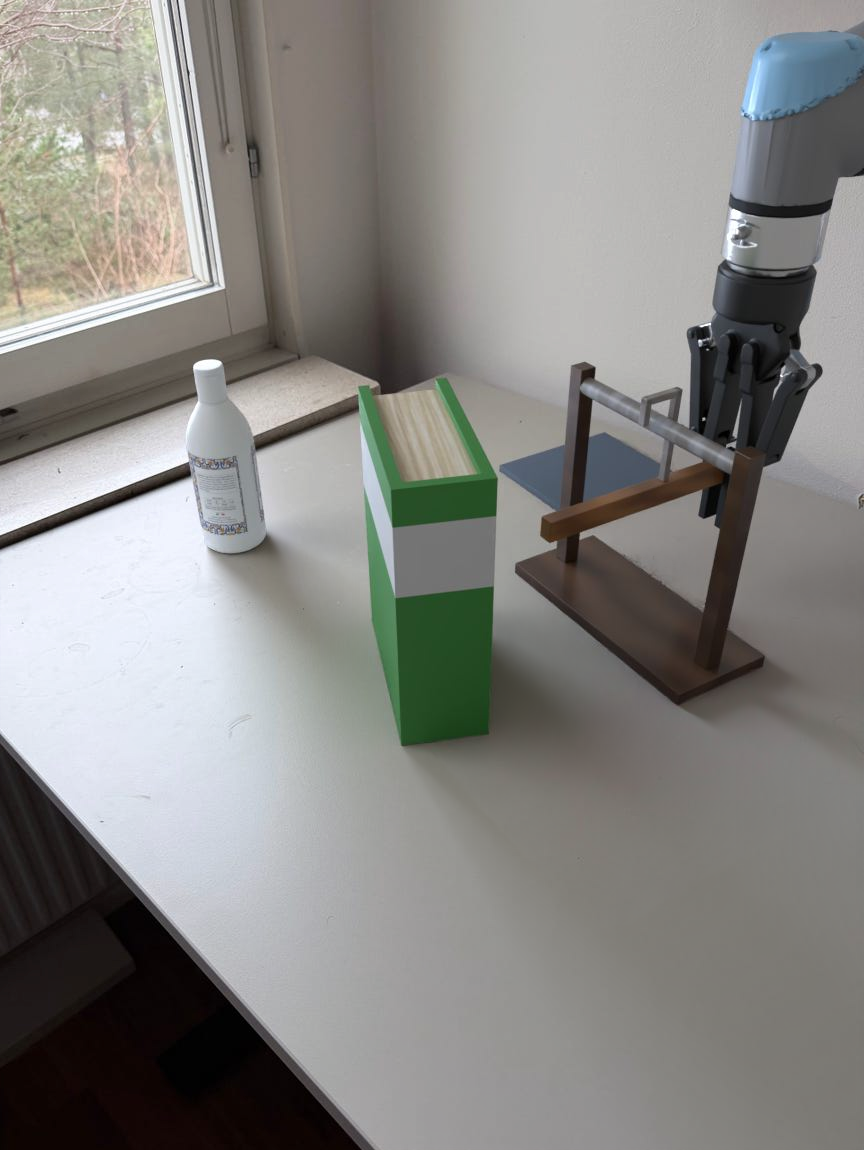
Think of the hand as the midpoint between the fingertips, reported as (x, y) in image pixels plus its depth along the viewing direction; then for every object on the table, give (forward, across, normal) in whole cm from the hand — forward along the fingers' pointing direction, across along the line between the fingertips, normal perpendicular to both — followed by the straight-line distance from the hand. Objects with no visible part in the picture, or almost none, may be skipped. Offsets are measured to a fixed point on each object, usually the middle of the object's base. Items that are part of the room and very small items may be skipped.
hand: (719, 517), depth 92 cm
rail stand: (+8, 0, -10) cm, 12 cm away
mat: (+8, -24, +4) cm, 26 cm away
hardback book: (+8, -3, -31) cm, 32 cm away
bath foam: (+8, -34, -37) cm, 51 cm away
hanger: (-5, 0, -10) cm, 11 cm away
